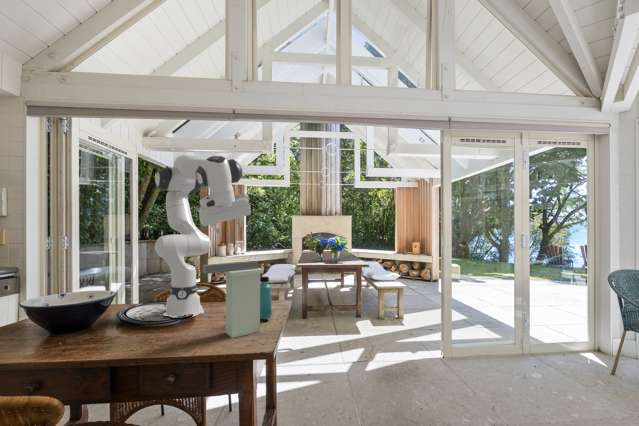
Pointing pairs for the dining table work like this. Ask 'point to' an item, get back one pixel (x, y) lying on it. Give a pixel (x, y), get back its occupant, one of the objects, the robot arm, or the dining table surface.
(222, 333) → the dining table surface
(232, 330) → the sage stand
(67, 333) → the dining table surface
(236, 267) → the graphite bar
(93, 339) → the dining table surface
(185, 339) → the dining table surface
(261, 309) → the beverage bottle
